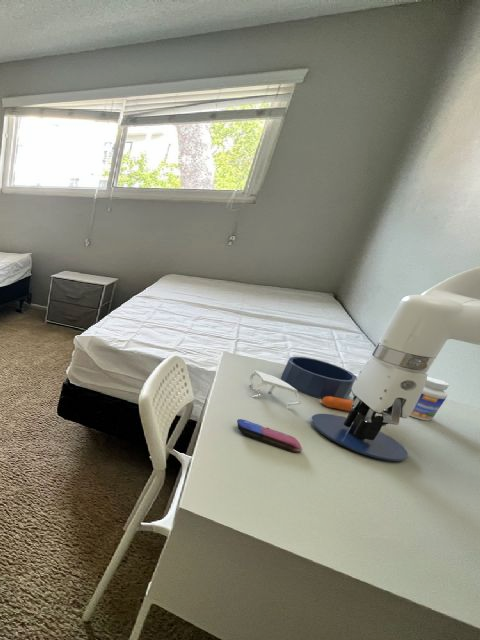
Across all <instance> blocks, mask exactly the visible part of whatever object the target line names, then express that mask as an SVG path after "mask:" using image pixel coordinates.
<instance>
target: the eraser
mask: <svg viewBox="0 0 480 640" xmlns="http://www.w3.org/2000/svg"><path fill="white" fill-rule="evenodd" d="M236 423H237V429H238V430H239V432H240V433H241V434H242V435H244V436H246V437H249V438H251V439H255V440H257V441H261V442H263V443H266V444H269V445H271V446H273V447H276V448H280V449H283V450H286V451H288V452H292V453H300V452H302V451H303V447H302V445H301V443H300V442H299V441H298V439H297V438H296V437H294V436H292V435H290V434H287V433H284V432H281V431H278V430H275V429H273V428H270V427H265V426H263V425H261V424H259V423H255V422H253V421H249V420H247V419H242V418H238V419H237V420H236Z"/></svg>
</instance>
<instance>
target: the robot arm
mask: <svg viewBox="0 0 480 640" xmlns="http://www.w3.org/2000/svg"><path fill="white" fill-rule="evenodd" d="M448 340H454V341H459V342H464V343H468V344H471V345H472V344H473V345H477V346H480V266H477V267H473V268H470V269H467V270H464V271H461V272H459V273H457V274H455V275H452V276H450V277H448V278H445V279H444V280H442V281H441V282H439V283H437V284H435V285H433V286H432V287H430V288H428V289H426V290H425V291H424V292H422V293H421V294H409V295H406V296H404V297H403V298H402V299H400V302H399V303H398V305H397V307H396V308H395V310H394V313H392V316H391V317H390V320H389V322H388V323H387V325H386V327H385V329H384V331H383V332H382V334H381V336H380V338H379V340H378V342H377V343H376V345H375V348H373V351H372V353H371V355H370V357H369V358H368V359H367V361H365V363H364V364H363V366H362V368H361V369H360V371H359V372H358V374H357V375H356V379H355V381H354V383H353V386H352V391H351V394H352V396H353V397H352V399H353V401H354V402H353V404H352V405H351V409H352V410H351V411H349V413H348V414H347V417H345V418H346V420H345V422H344V425H345V426H346V427H350V426H351V424H352V422H353V420H354V419H355V417H356V415H357V413H358V412H360V411H361V412H366V413H367V415H366V417H365V420H362V419H361V421H360V422H359V424H358V426H357V428H356V429H355V431H354V433H353V434H354V435H355V436H356V437H360V438H364V439H369V440H374V439H375V437H376V436H377V434H378V432H379V431H381V429H382V427H386V426H387V425H395V426H398V425H400V419H408V418H409V417H411V416H410V414H411V413H412V411H413V409H414V408H415V406H416V404H417V402H418V400H419V398H420V396H421V394H422V391H423V389H424V386H425V383H426V380H427V377H428V372H429V370H430V368H431V366H432V365H433V364H434V362H435V360H436V358H437V357H438V356H439V354H440V352H441V351H442V349H443V347H444V346H445V344H446V343H447V341H448ZM376 414H379V415H376Z"/></svg>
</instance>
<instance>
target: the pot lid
mask: <svg viewBox="0 0 480 640" xmlns="http://www.w3.org/2000/svg"><path fill="white" fill-rule="evenodd" d="M366 415H367V413H366V412H361V411H360V412H358V413H357V415H356V417H355V419H354V420H353V422H352V424H351V426H350V427H346V426H345V425H344V422H345V420H346V418H347V417H344V416H340V415H337V414H336V415H335V414H329V413H316V414H313V415H311V417H310V423H311V425H312V427H314V428H315V430H317V432H319V433H320V434H321V435H323V436H324V437H326V438H328V439H329V440H331V441H333V442H334V443H337V444H338V445H341V446H342V447H344V448H346V449H349V450H351V451H354V452H356V453H360V454H362V455H364V456H368V457H370V458H375V459H379V460H383V461H390V462H400V461H401V462H402V461H405V460H406V459H407V458H408V457H409V453H408V451H407V449H406V448H405V447H404V445H402V444H401V443H400V442H399V441H397V440H396V439H394V438H393V437H391V436H390V435H388V434H386V433H384V432H383V431H381V430H380V431H379V432H378V434H377V436H376V437H375V439H374V440H369V439H364V438H360V437H356V436H355V435H354V434H353V433H354V431H355V429H356V428H357V426H358V424H359V422H360V421H361V419H362V420H365V417H366Z"/></svg>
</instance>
